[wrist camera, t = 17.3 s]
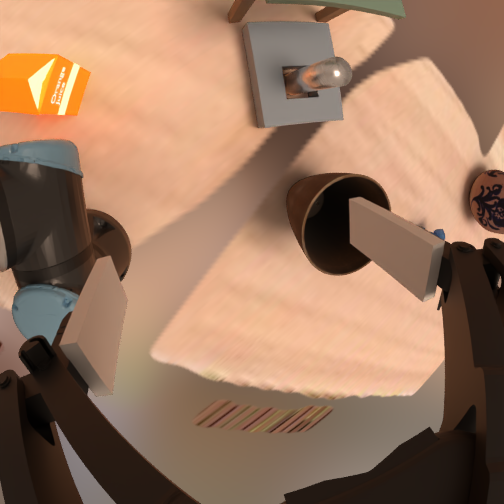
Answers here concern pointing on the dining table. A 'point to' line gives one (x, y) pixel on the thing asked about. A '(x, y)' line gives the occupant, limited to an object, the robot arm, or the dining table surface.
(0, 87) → the orange juice
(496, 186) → the ceramic pitcher
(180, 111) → the dining table surface
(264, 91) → the socket block
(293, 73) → the steel peg
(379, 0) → the awning
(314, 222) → the plant pot
